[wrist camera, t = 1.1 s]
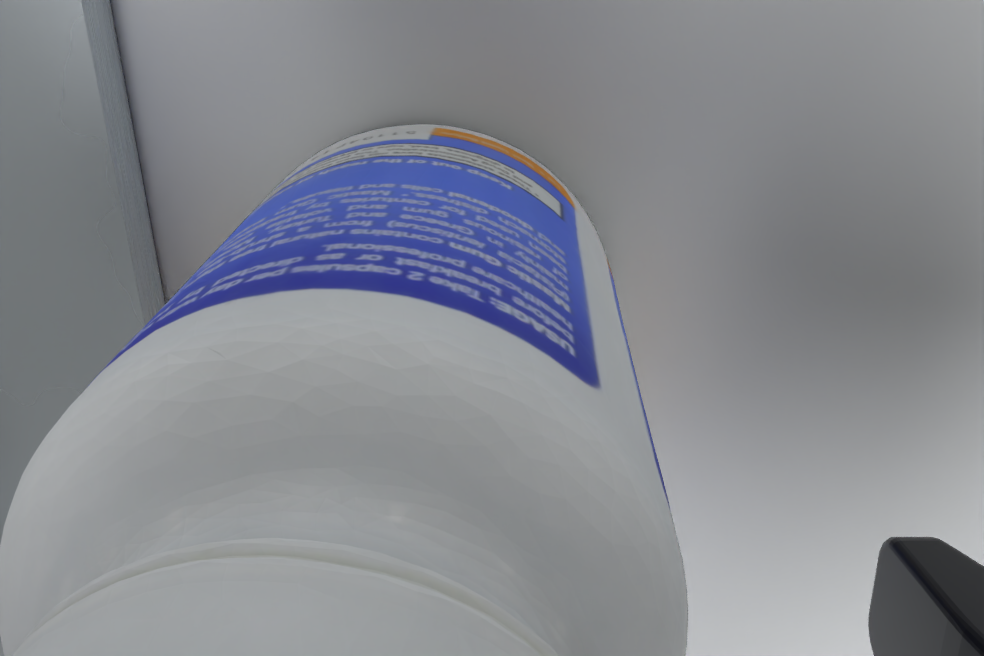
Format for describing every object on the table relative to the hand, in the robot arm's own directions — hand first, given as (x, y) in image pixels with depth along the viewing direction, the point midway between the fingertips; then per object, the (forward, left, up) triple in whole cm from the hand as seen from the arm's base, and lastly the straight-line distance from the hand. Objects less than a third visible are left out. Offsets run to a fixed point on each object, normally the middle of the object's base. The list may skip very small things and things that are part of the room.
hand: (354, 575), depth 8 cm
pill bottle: (0, 0, -6) cm, 6 cm away
